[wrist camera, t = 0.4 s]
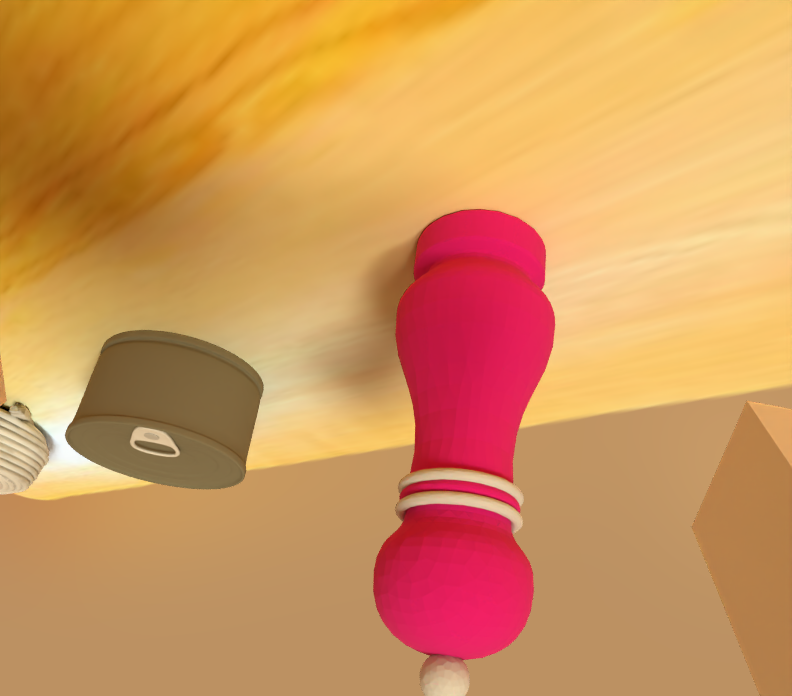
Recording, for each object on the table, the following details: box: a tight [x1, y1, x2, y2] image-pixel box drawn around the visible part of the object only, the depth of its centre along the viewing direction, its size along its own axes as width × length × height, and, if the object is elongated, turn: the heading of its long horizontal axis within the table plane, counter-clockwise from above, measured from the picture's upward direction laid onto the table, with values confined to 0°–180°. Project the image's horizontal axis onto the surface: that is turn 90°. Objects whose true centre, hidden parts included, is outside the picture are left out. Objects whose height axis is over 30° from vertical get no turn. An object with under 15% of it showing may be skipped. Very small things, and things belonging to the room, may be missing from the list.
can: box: [65, 330, 263, 489], centre depth 49 cm, size 12×12×7 cm
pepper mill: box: [373, 209, 555, 696], centre depth 29 cm, size 7×7×20 cm
